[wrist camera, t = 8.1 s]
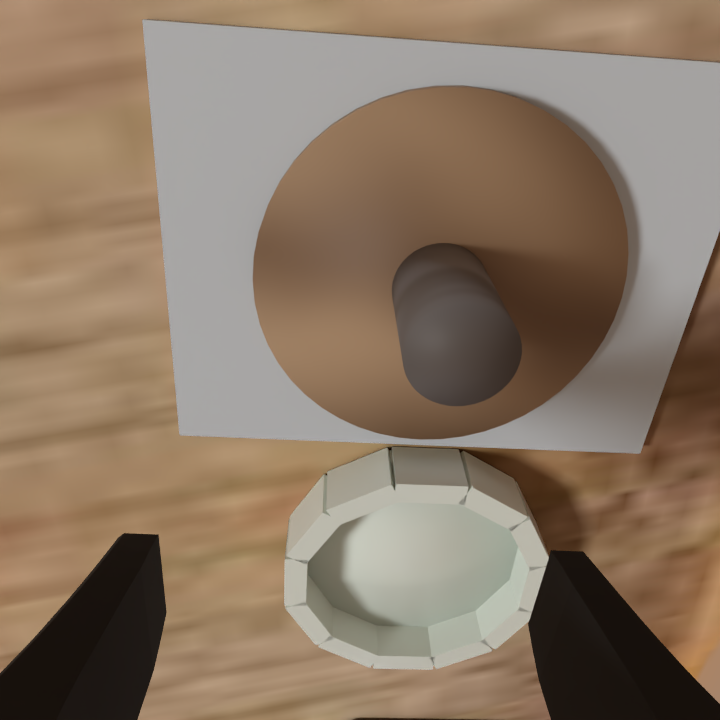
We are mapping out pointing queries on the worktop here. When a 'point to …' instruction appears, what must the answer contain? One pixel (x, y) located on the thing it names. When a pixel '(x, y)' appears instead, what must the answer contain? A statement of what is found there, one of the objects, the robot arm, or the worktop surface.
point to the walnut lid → (440, 262)
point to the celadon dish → (413, 559)
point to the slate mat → (364, 85)
